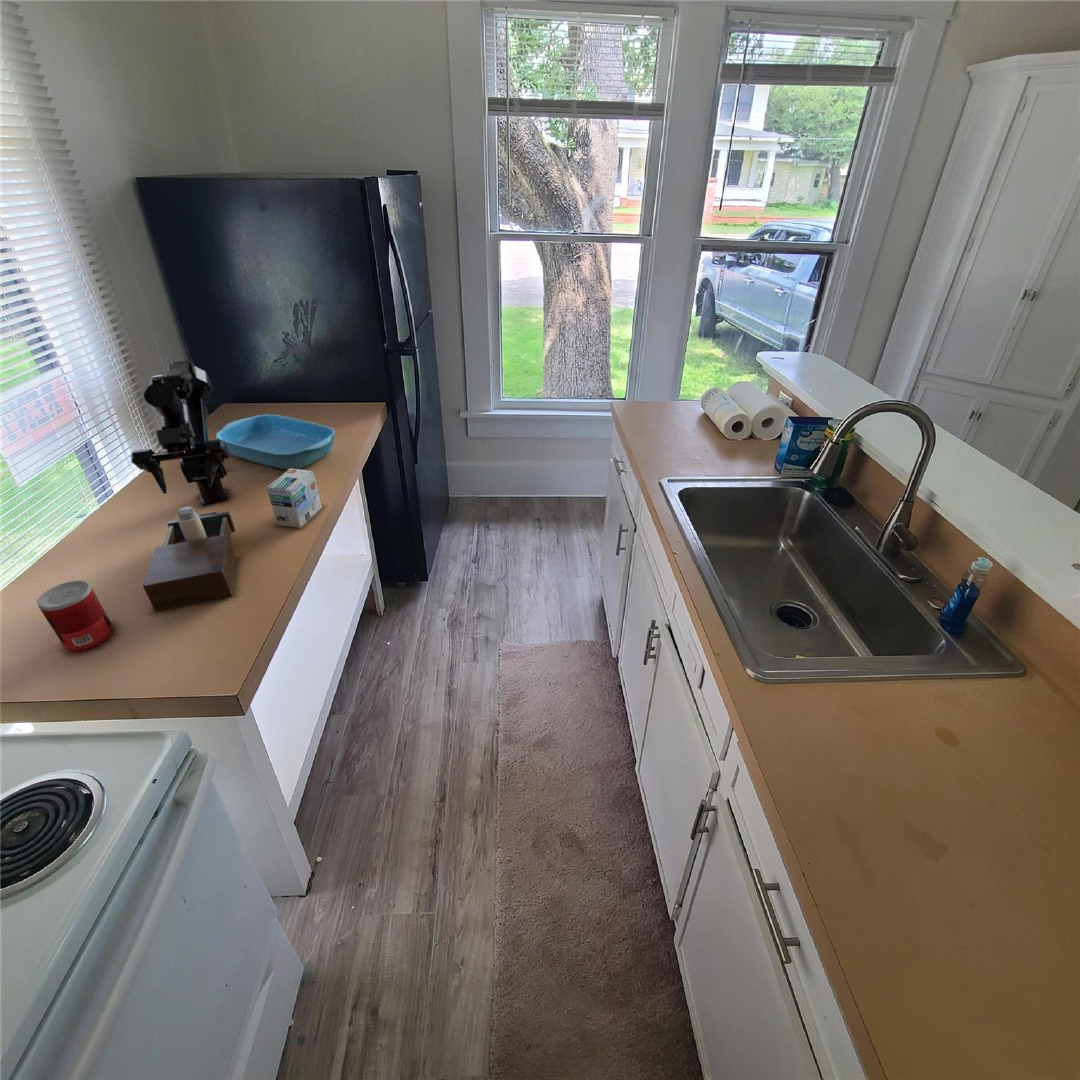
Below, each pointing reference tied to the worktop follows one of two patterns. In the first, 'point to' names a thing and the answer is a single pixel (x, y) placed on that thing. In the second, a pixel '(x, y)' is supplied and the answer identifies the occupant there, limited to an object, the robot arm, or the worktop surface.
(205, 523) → the drawer
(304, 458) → the casserole dish
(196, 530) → the grey-lidded cream jar
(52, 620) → the canned food
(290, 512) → the light bulb box
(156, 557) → the cabinet
